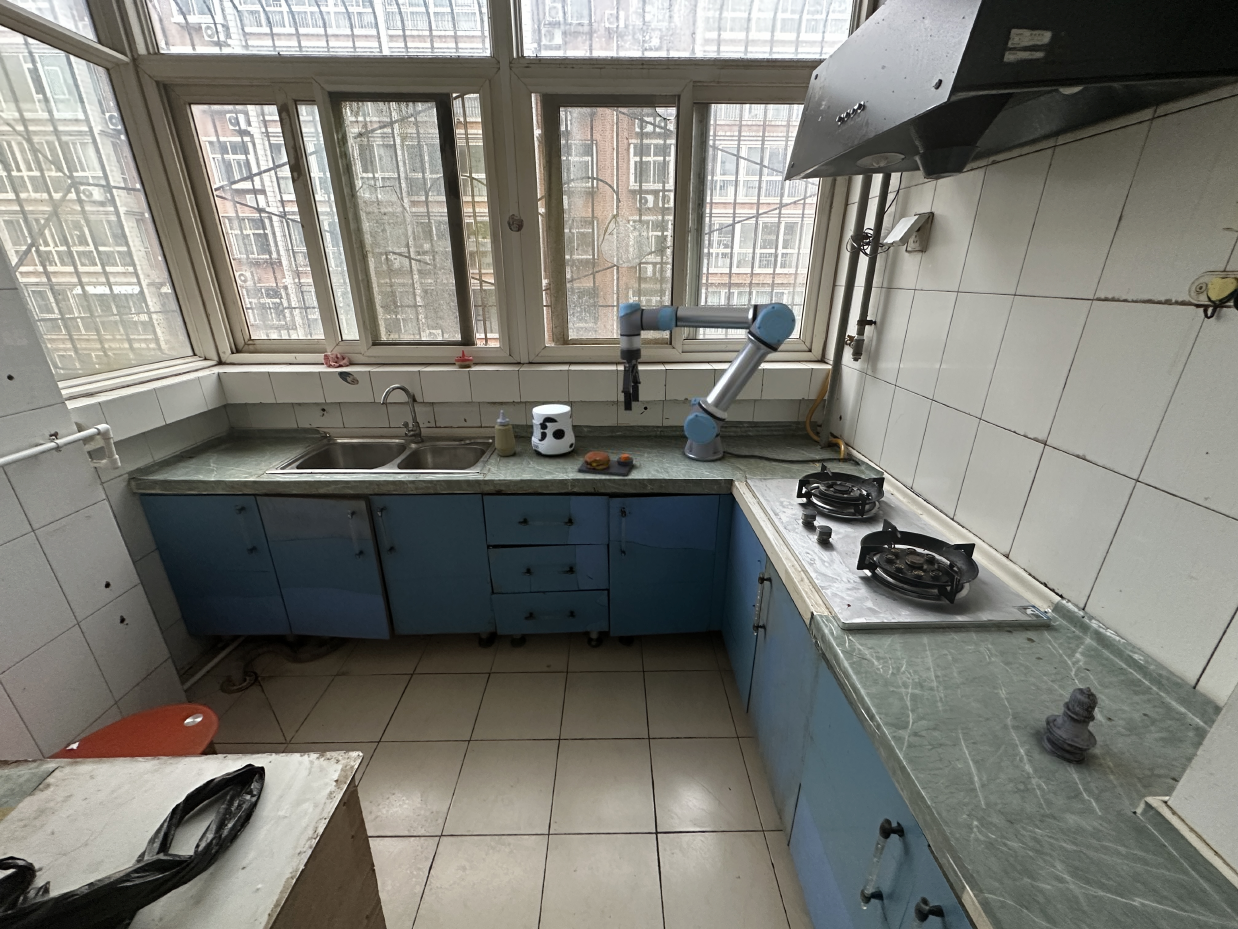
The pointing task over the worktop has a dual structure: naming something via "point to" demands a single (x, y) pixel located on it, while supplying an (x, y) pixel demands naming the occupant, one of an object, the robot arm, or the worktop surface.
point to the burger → (597, 460)
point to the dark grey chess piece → (1072, 727)
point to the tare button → (625, 457)
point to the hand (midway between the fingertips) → (632, 405)
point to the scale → (610, 468)
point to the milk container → (552, 430)
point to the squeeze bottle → (504, 436)
